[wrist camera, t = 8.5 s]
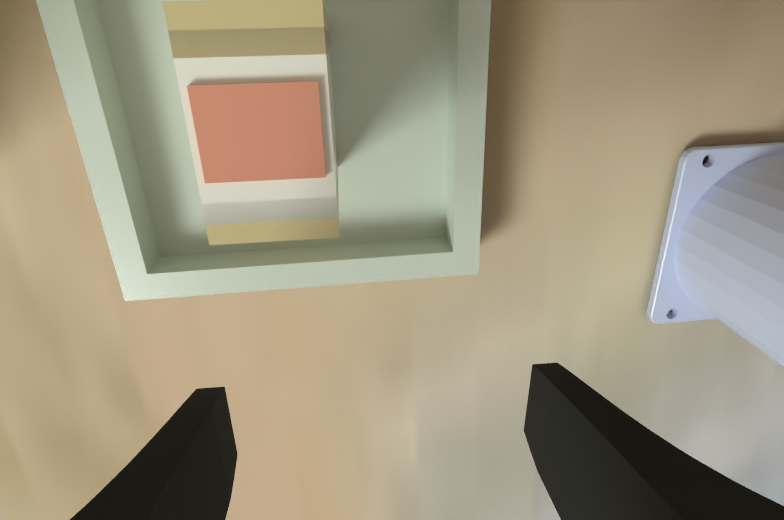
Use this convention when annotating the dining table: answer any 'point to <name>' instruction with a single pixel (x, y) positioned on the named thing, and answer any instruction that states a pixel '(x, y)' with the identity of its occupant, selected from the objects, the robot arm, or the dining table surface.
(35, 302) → the dining table surface
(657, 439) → the robot arm
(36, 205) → the dining table surface
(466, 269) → the tray
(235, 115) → the carton
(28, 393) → the dining table surface
